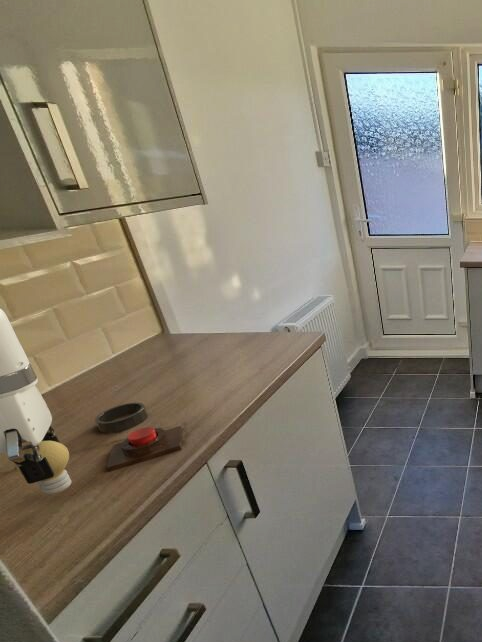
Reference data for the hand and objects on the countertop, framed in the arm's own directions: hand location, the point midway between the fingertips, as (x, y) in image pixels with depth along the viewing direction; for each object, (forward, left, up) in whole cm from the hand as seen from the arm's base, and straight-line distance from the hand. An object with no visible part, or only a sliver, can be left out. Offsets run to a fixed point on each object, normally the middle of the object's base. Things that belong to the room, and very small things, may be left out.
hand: (47, 467), depth 75 cm
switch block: (+12, +9, -7) cm, 16 cm away
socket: (+7, +23, -7) cm, 25 cm away
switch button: (+12, +9, -5) cm, 15 cm away
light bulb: (0, 0, -5) cm, 5 cm away
